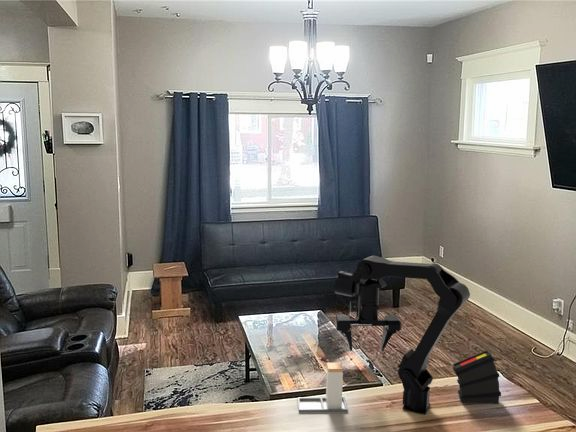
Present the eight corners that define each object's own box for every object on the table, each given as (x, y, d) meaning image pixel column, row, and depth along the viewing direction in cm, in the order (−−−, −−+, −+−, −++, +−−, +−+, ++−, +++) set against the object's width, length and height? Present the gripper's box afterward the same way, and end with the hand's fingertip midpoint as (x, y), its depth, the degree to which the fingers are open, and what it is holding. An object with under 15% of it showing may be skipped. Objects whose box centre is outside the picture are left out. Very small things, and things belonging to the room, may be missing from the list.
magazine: (511, 399, 165) (492, 354, 163) (468, 416, 167) (448, 372, 164) (506, 393, 169) (488, 349, 167) (464, 410, 170) (445, 366, 168)
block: (339, 402, 164) (341, 362, 162) (341, 409, 160) (343, 368, 158) (325, 402, 164) (326, 362, 162) (327, 409, 160) (328, 368, 158)
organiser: (344, 402, 166) (344, 397, 166) (347, 414, 159) (348, 409, 159) (297, 402, 165) (297, 397, 165) (298, 414, 159) (298, 409, 158)
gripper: (394, 291, 176) (391, 340, 178) (333, 291, 175) (331, 340, 177) (403, 303, 165) (400, 354, 167) (337, 303, 164) (336, 355, 166)
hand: (366, 350), depth 170 cm, fingers open, 9 cm apart
